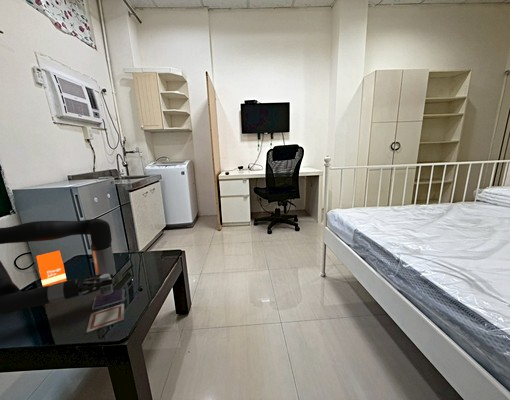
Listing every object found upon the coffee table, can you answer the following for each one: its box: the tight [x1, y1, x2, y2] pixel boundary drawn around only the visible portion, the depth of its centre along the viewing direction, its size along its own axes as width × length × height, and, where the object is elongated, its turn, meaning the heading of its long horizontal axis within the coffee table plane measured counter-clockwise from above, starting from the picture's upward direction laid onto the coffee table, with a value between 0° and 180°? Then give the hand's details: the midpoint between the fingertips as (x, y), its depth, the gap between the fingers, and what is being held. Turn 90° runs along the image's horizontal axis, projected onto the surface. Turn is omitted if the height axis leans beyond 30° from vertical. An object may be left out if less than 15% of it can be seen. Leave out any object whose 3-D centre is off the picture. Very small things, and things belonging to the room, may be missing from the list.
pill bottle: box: [99, 274, 114, 295], centre depth 99 cm, size 5×5×8 cm
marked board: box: [85, 303, 125, 334], centre depth 88 cm, size 12×12×1 cm
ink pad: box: [91, 288, 125, 311], centre depth 100 cm, size 12×10×2 cm
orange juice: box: [36, 250, 68, 287], centre depth 109 cm, size 8×9×20 cm
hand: (112, 278), depth 100 cm, fingers closed on pill bottle, 4 cm apart
